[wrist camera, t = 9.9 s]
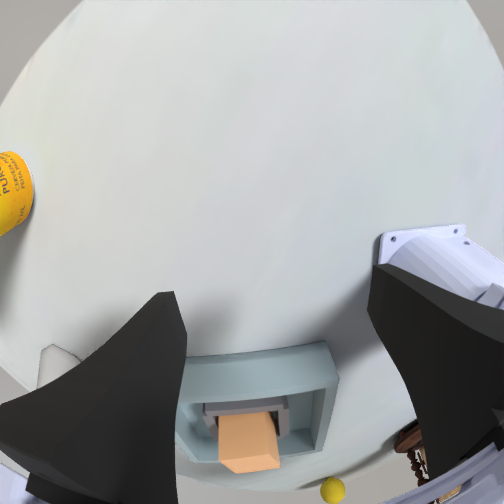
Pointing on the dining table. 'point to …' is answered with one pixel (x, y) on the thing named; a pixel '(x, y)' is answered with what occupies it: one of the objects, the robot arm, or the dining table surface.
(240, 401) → the socket box
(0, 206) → the beer can
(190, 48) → the dining table surface
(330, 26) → the dining table surface
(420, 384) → the robot arm
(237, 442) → the plug
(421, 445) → the brown tall knobby piece
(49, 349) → the flask
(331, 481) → the lemon
